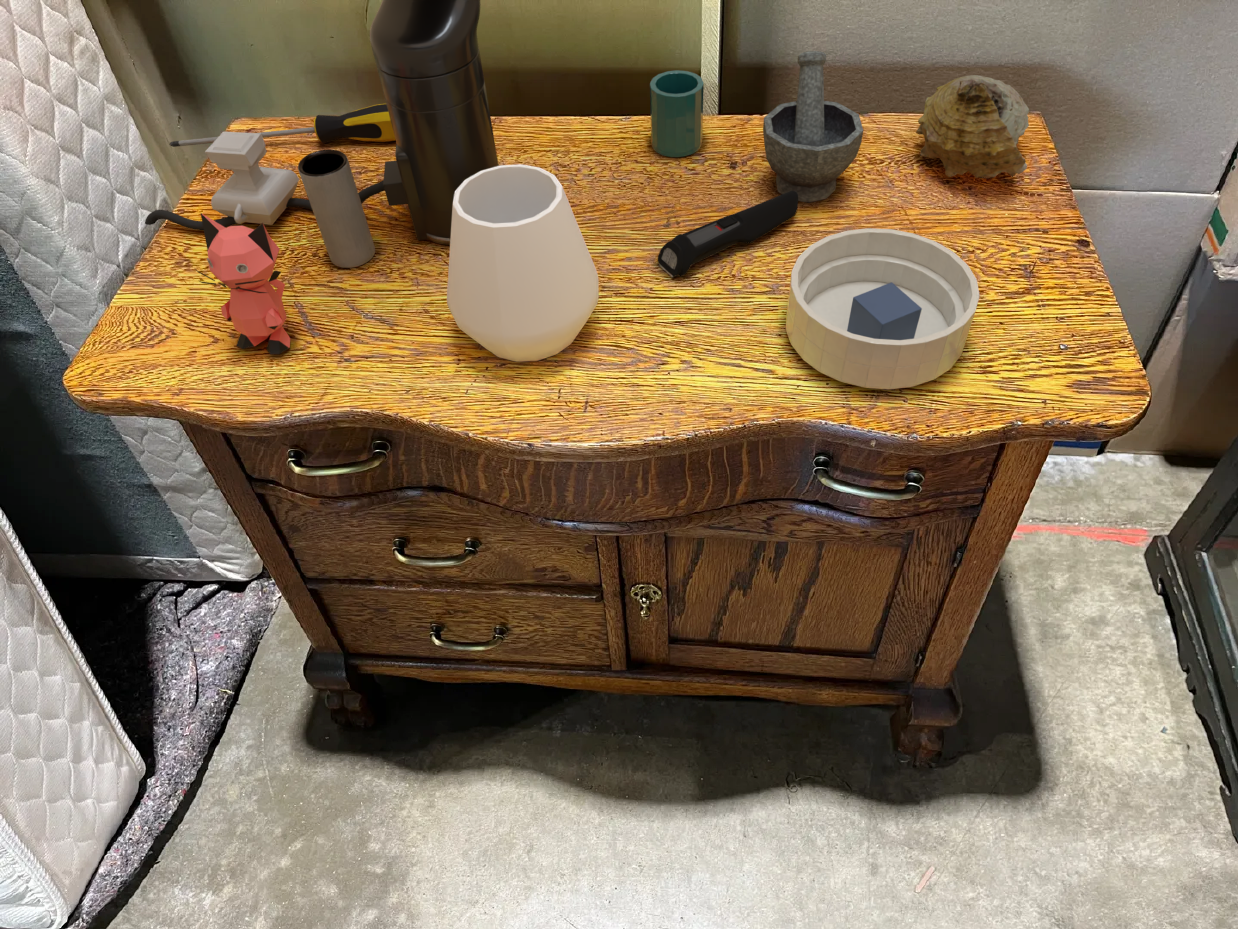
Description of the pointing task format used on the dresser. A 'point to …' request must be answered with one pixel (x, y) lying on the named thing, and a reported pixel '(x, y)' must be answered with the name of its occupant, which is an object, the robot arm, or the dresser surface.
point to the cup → (518, 264)
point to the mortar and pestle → (811, 136)
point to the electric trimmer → (726, 233)
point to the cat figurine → (248, 282)
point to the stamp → (249, 180)
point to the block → (884, 314)
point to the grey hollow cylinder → (337, 207)
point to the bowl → (867, 264)
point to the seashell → (975, 127)
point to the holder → (676, 113)
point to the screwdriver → (335, 127)
